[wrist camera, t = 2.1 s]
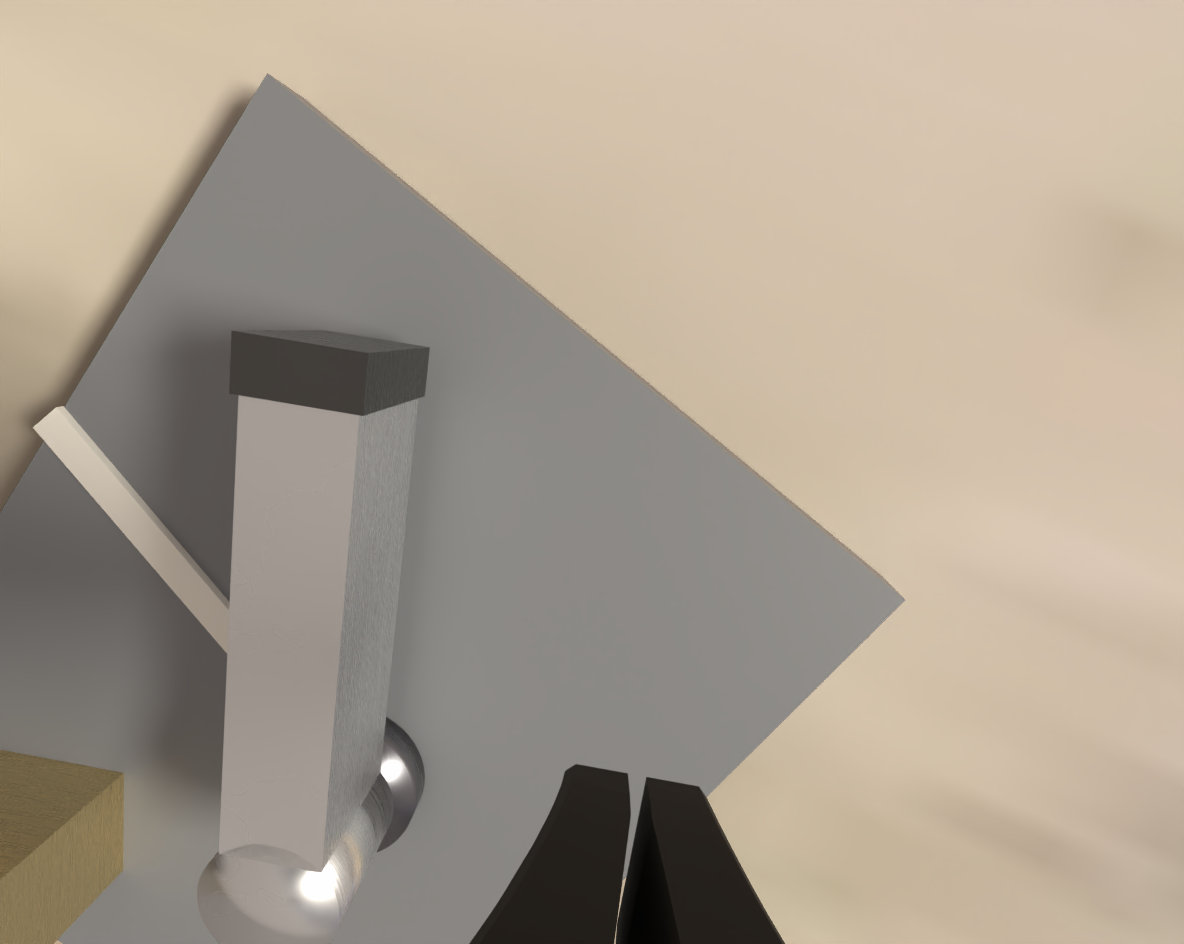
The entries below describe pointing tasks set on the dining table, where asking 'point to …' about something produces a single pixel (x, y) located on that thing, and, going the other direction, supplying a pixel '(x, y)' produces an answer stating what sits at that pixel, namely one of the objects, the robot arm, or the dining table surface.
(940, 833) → the dining table surface
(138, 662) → the plate
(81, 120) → the dining table surface
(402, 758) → the dark grey round disc
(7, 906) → the tan block
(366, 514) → the bar
